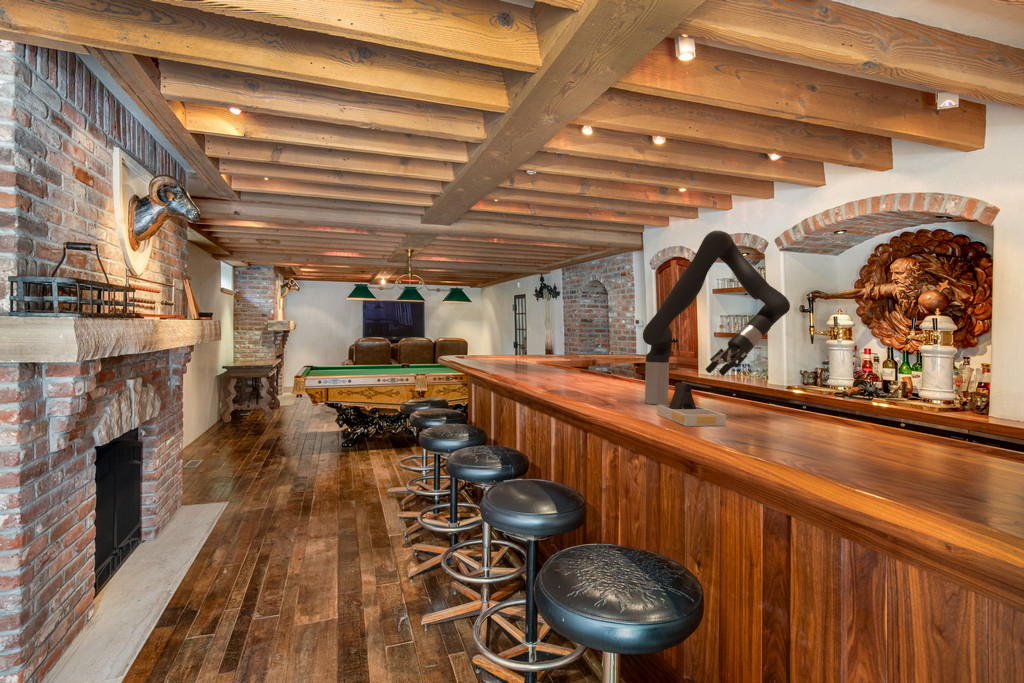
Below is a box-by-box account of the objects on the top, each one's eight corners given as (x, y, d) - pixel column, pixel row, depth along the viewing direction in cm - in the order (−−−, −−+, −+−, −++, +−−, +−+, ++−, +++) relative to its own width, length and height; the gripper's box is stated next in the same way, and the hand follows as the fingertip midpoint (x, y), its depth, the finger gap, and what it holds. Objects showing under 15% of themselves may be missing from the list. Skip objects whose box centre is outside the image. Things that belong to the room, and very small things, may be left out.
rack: (656, 414, 174) (656, 404, 174) (692, 414, 176) (692, 404, 176) (685, 426, 153) (685, 415, 153) (726, 426, 155) (726, 415, 155)
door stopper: (689, 415, 173) (690, 382, 173) (698, 418, 167) (699, 384, 167) (666, 416, 172) (667, 382, 171) (674, 419, 166) (675, 384, 165)
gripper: (726, 332, 179) (696, 363, 177) (750, 332, 164) (718, 366, 163) (739, 347, 179) (709, 378, 178) (764, 348, 165) (732, 382, 164)
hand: (714, 372), depth 171 cm, fingers open, 8 cm apart
